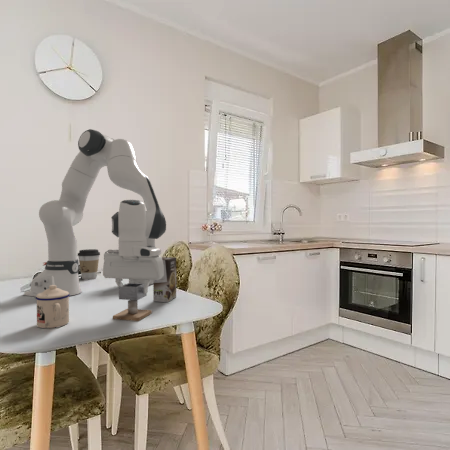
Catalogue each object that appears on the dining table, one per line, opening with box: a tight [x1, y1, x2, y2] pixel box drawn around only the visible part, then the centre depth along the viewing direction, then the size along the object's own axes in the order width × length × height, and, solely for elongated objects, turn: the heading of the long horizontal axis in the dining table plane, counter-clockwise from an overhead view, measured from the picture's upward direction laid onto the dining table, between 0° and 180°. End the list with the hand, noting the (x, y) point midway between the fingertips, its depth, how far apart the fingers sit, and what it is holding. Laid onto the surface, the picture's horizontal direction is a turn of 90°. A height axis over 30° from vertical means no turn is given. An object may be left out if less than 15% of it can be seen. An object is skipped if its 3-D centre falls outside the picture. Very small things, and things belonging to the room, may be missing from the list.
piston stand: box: [112, 300, 153, 322], centre depth 112 cm, size 9×9×5 cm
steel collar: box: [118, 282, 148, 301], centre depth 111 cm, size 6×6×4 cm
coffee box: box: [152, 256, 177, 303], centre depth 135 cm, size 9×6×16 cm
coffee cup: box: [77, 248, 101, 281], centre depth 182 cm, size 11×11×15 cm
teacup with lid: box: [35, 285, 71, 329], centre depth 102 cm, size 12×9×12 cm
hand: (133, 292), depth 112 cm, fingers closed on steel collar, 6 cm apart
